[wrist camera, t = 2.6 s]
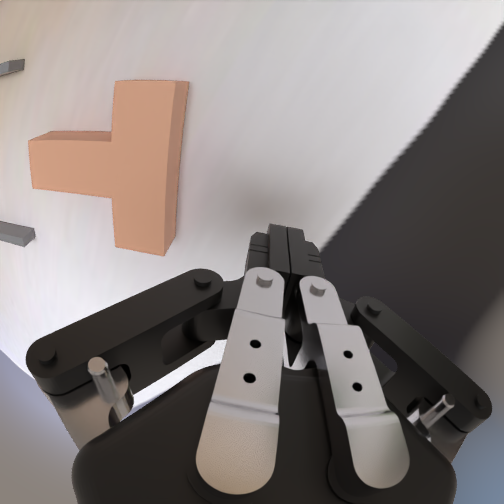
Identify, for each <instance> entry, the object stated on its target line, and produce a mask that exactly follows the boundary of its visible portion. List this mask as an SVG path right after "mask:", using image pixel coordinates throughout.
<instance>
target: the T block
mask: <svg viewBox="0 0 504 504" xmlns="http://www.w3.org/2000/svg"><path fill="white" fill-rule="evenodd" d="M188 87H189V82H186V81H168V80H124V81H115V87H114V98H113V113H112V132H100V131H51V132H48V133H46V134H43V135H41V136H38V137H36V138H33V139H31V140H29V141H28V145H29V159H30V170H31V179H32V187H33V189H42V190H50V191H59V192H67V193H75V194H83V195H91V196H98V197H106V198H112V210H113V225H114V237H115V247H118V248H123V249H128V250H133V251H139V252H144V253H149V254H154V255H160V256H165V254H166V252H167V250H168V248H169V246H170V245H171V243H172V241H173V239H174V237H175V228H176V208H177V192H178V178H179V166H180V155H181V144H182V135H183V126H184V117H185V109H186V102H187V94H188Z"/></svg>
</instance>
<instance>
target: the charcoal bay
mask: <svg viewBox="0 0 504 504" xmlns="http://www.w3.org/2000/svg"><path fill="white" fill-rule="evenodd" d="M23 68H24V59H20V60H12V61H7V62H4V63H1V64H0V76H2V75H5V74H9V73H12V72H16V71H20V70H23ZM34 238H35V233H34V229H33V228H29V227H24V226H20V225H15V224H10V223H6V222H1V221H0V240H1V241H4V242H8V243H12V244H15V245H19V246H22V247H25V246H26V245H27V244H28V243H29V242H30V241H31V240H33V239H34Z"/></svg>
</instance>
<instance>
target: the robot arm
mask: <svg viewBox="0 0 504 504" xmlns="http://www.w3.org/2000/svg"><path fill="white" fill-rule="evenodd" d="M225 339H227V342H226V346H225V350H224V354H223V357H222V361H221V364H217V365H212V366H208V367H205V368H202V369H200V370H198V371H196V372H194V373H192V374H190V375H189V376H187V377H186V378H184V379H183V380H182V381H180V382H179V383H177V384H176V385H175V386H173V387H172V388H170V389H169V390H167V391H166V392H164V393H163V394H162V395H160V396H159V397H157V398H156V399H154V400H153V401H151V402H150V403H148V404H147V405H145V406H144V407H142V408H141V409H139V410H138V411H136V412H135V413H133V414H132V415H130V416H129V417H127V418H126V419H124V420H122V418H124V417H125V416H126V415H127V414H128V413H129V412H130V411H131V409H132V407H133V404H134V397H133V395H134V394H136V393H137V392H139V391H141V390H142V389H144V388H146V387H147V386H149V385H151V384H152V383H154V382H156V381H157V380H159V379H161V378H162V377H164V376H165V375H167V374H169V373H170V372H172V371H174V370H175V369H177V368H178V367H180V366H182V365H183V364H185V363H186V362H188V361H189V360H191V359H193V358H194V357H196V356H197V355H199V354H200V353H202V352H203V351H205V350H207V349H208V348H210V347H211V346H212V345H213V344H214V343H215V340H225ZM374 342H376V343H377V344H378V345H379V346H380V347H381V348H382V349H383V350H384V351H386V352H387V353H388V354H389V355H390V356H391V357H392V358H393V359H394V360H395V361H396V362H397V365H398V369H397V371H396V372H392V371H391V370H389V369H388V368H387V367H386V366H385V365H384V364H383V363H382V362H381V361H380V360H379V359H377V358H376V357H375V356H374V355H373V354H372V353H371V352H370V351H369V349H370V348H371V346H372V345H373V343H374ZM282 357H284V366H285V367H284V366H282ZM26 365H27V367H28V369H29V371H30V372H31V374H32V375H33V377H34V378H35V380H36V381H37V384H38V386H39V387H40V389H41V390H42V392H43V393H44V394H45V396H46V397H47V399H48V400H49V401H50V402H51V404H52V405H53V406H54V407H55V409H56V411H57V413H58V415H59V416H60V418H61V420H62V422H63V424H64V425H65V427H66V429H67V431H68V432H69V434H70V436H71V437H72V439H73V441H74V442H75V444H76V446H77V447H78V449H79V450H80V451H79V453H78V454H77V456H76V458H75V461H74V463H73V468H72V484H73V489H74V492H75V495H76V498H77V502H78V504H453V501H454V498H455V494H456V488H457V480H456V474H455V471H454V469H453V467H452V465H451V463H452V461H453V459H454V458H455V456H456V454H457V453H458V451H459V449H460V447H461V445H462V444H463V442H464V439H465V438H466V436H467V434H468V433H470V432H471V431H472V430H474V429H475V428H476V427H477V426H479V425H480V424H481V423H483V422H484V421H485V420H486V419H487V418H489V416H490V415H491V413H492V404H491V401H490V398H489V397H488V395H487V394H486V393H485V392H484V391H483V390H482V389H481V388H480V387H479V386H478V385H477V384H476V383H475V382H473V381H472V380H471V379H470V378H469V377H468V376H467V375H466V374H465V373H464V372H462V371H461V370H460V369H459V368H458V367H457V366H456V365H455V364H454V363H452V361H450V360H449V359H448V358H447V357H446V356H445V355H443V354H442V353H441V352H440V351H439V350H438V349H437V348H436V347H434V346H433V345H432V344H431V343H430V342H429V341H427V340H426V339H425V338H424V337H423V336H422V335H421V334H419V333H418V332H417V331H416V330H415V329H413V328H412V327H411V326H410V325H409V324H408V323H406V322H405V321H404V320H403V319H402V318H400V317H399V316H398V315H397V314H396V313H394V312H393V311H392V310H391V309H389V308H388V307H387V306H386V305H385V304H383V303H382V302H381V301H379V300H377V299H375V298H372V297H361V298H359V299H358V300H357V302H356V304H353V303H351V302H348V301H345V300H343V299H341V298H339V297H338V296H337V293H336V290H335V288H334V286H333V285H332V284H331V283H330V282H328V281H327V280H325V275H324V271H323V267H322V264H321V259H320V255H319V251H318V249H317V247H316V246H315V245H314V244H313V243H312V242H308V241H305V238H304V233H303V230H302V229H297V228H291V227H286V226H281V225H276V224H269V227H268V231H267V234H265V233H259V232H256V233H255V234H254V235H253V236H251V240H250V245H249V250H248V255H247V260H246V265H245V272H244V276H243V277H242V278H240V279H238V280H234V281H224V282H223V279H222V278H221V276H220V275H219V274H217V273H216V272H214V271H211V270H208V269H194V270H190V271H188V272H186V273H183V274H181V275H179V276H177V277H174V278H172V279H170V280H168V281H165V282H163V283H161V284H159V285H157V286H154V287H152V288H150V289H148V290H145V291H143V292H141V293H139V294H136V295H134V296H132V297H130V298H128V299H125V300H123V301H121V302H119V303H116V304H114V305H112V306H110V307H108V308H105V309H103V310H101V311H99V312H97V313H94V314H92V315H90V316H88V317H86V318H83V319H81V320H79V321H77V322H75V323H72V324H70V325H68V326H66V327H64V328H62V329H59V330H57V331H55V332H53V333H51V334H48V335H46V336H44V337H42V338H40V339H38V340H36V341H35V342H34V343H33V344H32V345H31V346H30V347H29V349H28V351H27V354H26ZM121 420H122V421H121ZM120 421H121V422H120Z"/></svg>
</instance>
